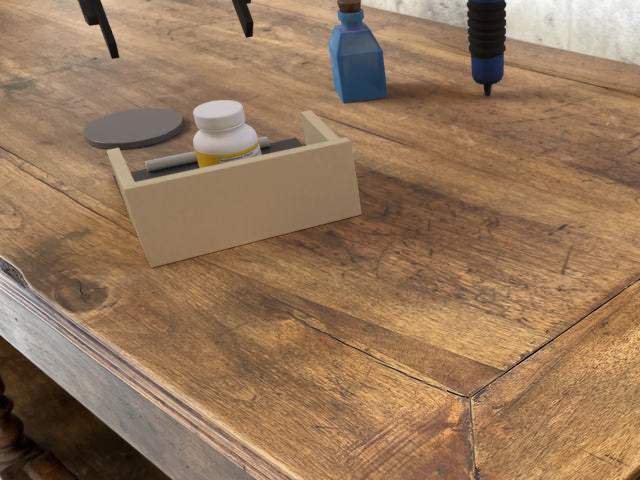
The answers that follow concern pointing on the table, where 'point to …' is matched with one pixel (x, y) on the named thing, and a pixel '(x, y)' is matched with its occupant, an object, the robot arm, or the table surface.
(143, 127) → the trivet
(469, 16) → the blue black cylinder
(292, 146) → the shallow cardboard crate
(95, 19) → the robot arm
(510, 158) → the table surface
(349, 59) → the perfume bottle
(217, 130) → the pill bottle
